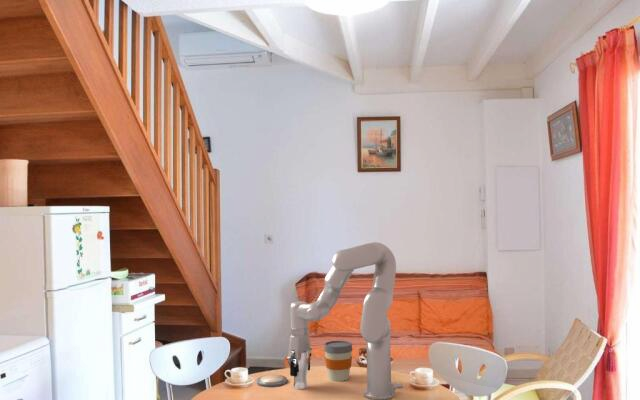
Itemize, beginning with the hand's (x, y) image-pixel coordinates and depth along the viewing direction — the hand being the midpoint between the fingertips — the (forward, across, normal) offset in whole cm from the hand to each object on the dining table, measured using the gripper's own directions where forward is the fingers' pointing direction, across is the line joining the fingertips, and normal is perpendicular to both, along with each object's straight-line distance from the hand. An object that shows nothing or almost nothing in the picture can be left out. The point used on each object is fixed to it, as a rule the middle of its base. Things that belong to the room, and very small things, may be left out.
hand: (300, 372), depth 208 cm
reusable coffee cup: (+6, -18, +8) cm, 21 cm away
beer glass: (+6, 0, 0) cm, 6 cm away
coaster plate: (+6, 0, -15) cm, 16 cm away
